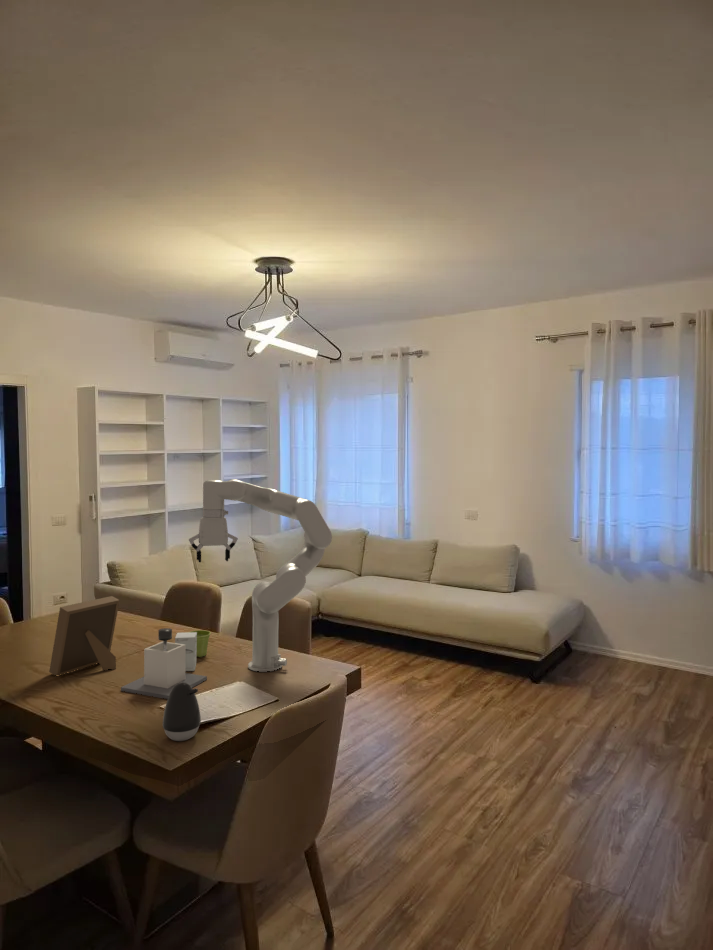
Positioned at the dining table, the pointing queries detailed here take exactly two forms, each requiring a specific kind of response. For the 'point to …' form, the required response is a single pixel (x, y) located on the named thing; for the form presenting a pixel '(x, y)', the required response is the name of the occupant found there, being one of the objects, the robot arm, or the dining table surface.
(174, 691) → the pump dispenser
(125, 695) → the dining table surface
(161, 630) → the plunger
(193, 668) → the supplement box
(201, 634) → the plant pot
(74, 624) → the photo frame
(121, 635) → the dining table surface
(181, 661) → the grey square base
